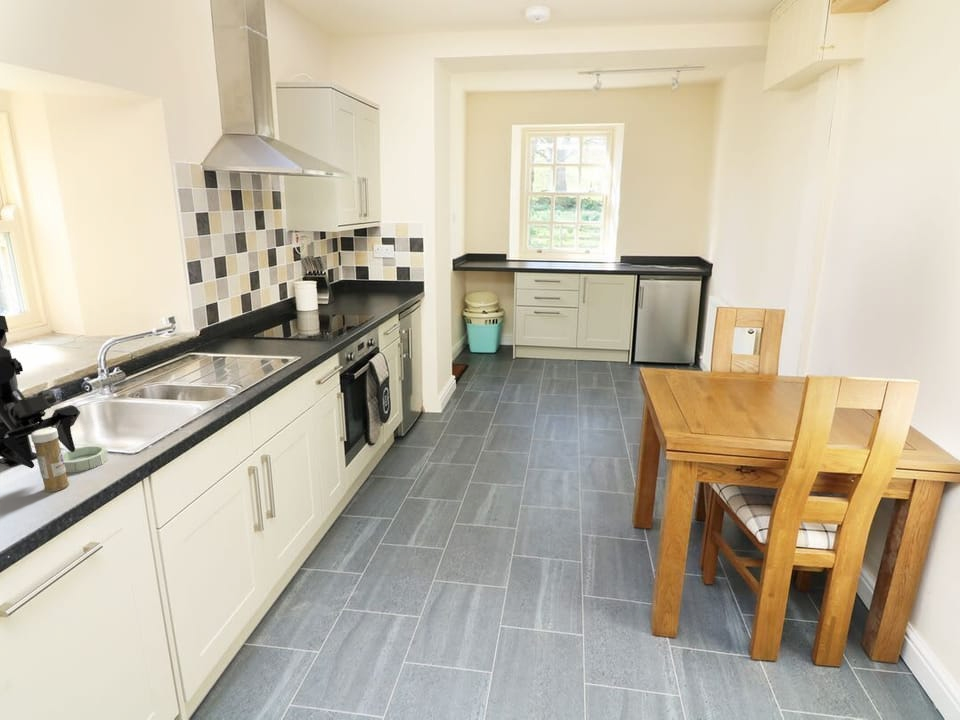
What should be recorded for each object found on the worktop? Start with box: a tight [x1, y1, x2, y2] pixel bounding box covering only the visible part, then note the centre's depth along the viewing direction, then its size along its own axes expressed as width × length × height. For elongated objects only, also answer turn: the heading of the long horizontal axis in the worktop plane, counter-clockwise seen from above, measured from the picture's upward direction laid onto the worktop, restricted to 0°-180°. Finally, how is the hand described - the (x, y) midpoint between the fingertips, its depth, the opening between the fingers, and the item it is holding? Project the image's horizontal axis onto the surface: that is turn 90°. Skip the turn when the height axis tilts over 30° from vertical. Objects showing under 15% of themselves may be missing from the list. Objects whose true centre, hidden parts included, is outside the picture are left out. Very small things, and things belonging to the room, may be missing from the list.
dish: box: [61, 444, 109, 473], centre depth 139 cm, size 10×10×2 cm
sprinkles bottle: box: [30, 427, 70, 493], centre depth 126 cm, size 5×5×13 cm
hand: (54, 458), depth 125 cm, fingers open, 8 cm apart
